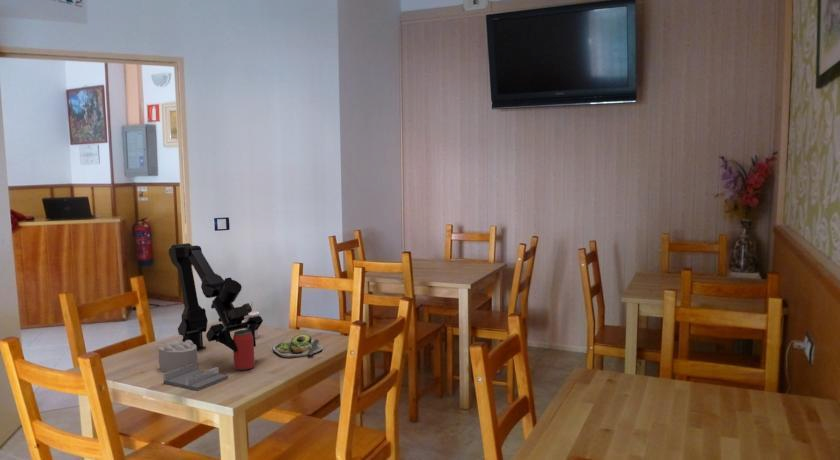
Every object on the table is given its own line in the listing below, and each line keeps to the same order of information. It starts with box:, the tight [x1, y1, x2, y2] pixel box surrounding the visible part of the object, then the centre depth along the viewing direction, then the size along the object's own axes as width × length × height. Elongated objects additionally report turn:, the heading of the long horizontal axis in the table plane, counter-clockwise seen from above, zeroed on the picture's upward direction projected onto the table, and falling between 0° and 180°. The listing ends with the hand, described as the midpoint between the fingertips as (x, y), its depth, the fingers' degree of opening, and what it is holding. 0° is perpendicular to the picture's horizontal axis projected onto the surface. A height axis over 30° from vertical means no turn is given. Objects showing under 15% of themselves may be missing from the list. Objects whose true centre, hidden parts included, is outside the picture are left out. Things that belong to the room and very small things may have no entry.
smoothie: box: [243, 301, 261, 339], centre depth 242 cm, size 6×6×14 cm
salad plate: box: [272, 333, 323, 359], centre depth 223 cm, size 19×18×5 cm
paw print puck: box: [157, 339, 199, 373], centre depth 206 cm, size 10×13×9 cm
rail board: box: [162, 363, 229, 392], centre depth 193 cm, size 12×15×3 cm
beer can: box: [232, 329, 255, 371], centre depth 204 cm, size 7×7×12 cm
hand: (245, 348), depth 203 cm, fingers closed on beer can, 7 cm apart
